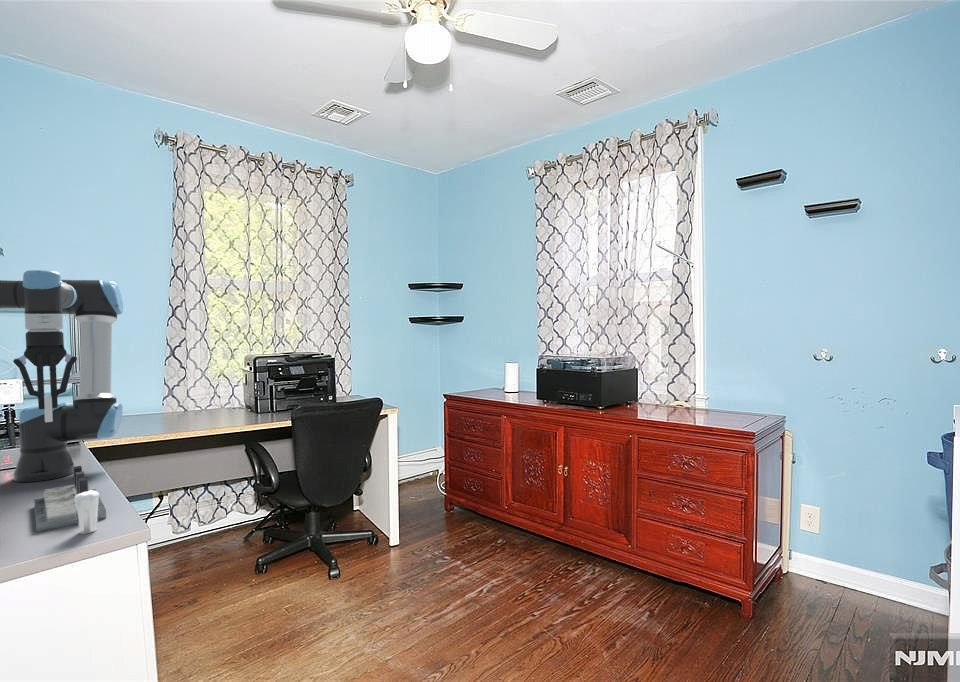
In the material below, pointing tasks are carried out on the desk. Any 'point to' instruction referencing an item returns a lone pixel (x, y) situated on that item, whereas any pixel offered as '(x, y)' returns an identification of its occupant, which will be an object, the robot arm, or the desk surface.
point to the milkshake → (86, 511)
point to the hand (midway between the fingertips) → (48, 421)
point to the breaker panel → (61, 520)
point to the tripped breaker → (78, 475)
